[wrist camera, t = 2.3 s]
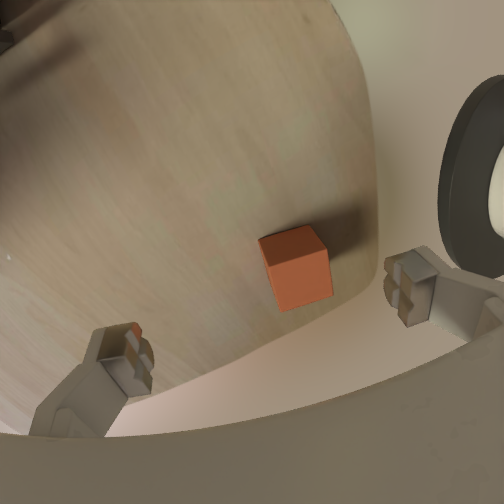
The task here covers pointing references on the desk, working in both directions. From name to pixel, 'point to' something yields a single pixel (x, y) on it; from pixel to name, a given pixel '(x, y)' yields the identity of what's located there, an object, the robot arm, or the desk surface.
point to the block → (297, 267)
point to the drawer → (5, 40)
